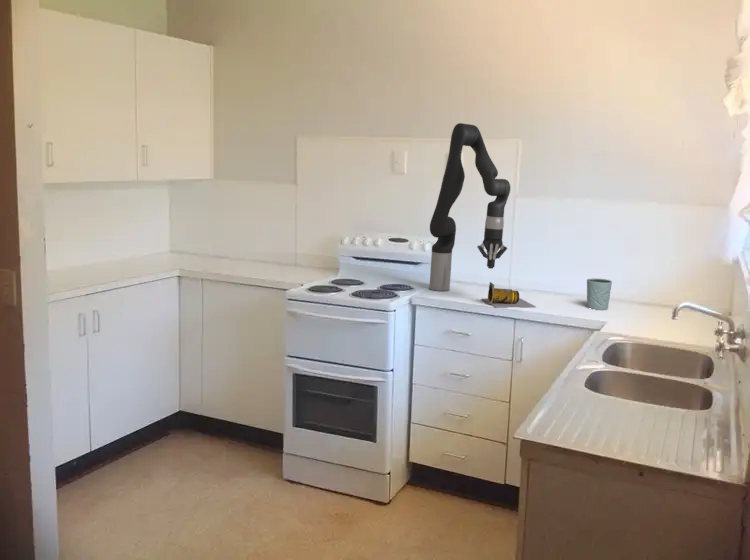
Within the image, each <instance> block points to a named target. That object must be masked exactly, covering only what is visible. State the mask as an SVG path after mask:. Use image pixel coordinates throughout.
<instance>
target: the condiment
mask: <svg viewBox="0 0 750 560" xmlns="http://www.w3.org/2000/svg"><path fill="white" fill-rule="evenodd" d="M519 298H520V292H519V290H515V289H511V288H498V287H495V284H494V283H492V282H491V281H489V284H488V292H487V299H488V300H487V301H488V302H489V303H491V304H492V302H496V303H517V302H518V301H519Z"/></svg>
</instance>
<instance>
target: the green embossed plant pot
mask: <svg viewBox="0 0 750 560" xmlns="http://www.w3.org/2000/svg"><path fill="white" fill-rule="evenodd" d="M612 283H613V281H612V280H610V279H605V278H595V277H594V278H593V277H592V278H588V279H586V308H587V307H588V308H587V309H589V308H591V309H590V310H593V309H595V311H607V310H608V309H609V304H610V297H611V290H612Z"/></svg>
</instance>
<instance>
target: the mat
mask: <svg viewBox="0 0 750 560" xmlns="http://www.w3.org/2000/svg"><path fill="white" fill-rule="evenodd" d="M481 300H482V301H483V302H486V303H487V304H488V305H490V306H492V307H493V308H496V309H497V308H498V309H499V308H501V309H504V308H505V309H506V308H507V307H520V308H537V306H536V305H533V304H532V303H530V302H528V301H526V300H524V299H522V298H520V297H519V301H518V302H517V303H496V302H492V304H491V303H489V302H488V301H487V300H488V298H481Z"/></svg>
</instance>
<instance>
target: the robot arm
mask: <svg viewBox="0 0 750 560" xmlns="http://www.w3.org/2000/svg"><path fill="white" fill-rule="evenodd" d="M451 132H452V133H451V136H450V137H451V138H450V144H449V151H448V155H447V161H446V165H445V169H444V174H443V177H442V182H441V185H440V190H439V194H438V198H437V201H436V205H435V209H434V210H433V214H432V216H431V219H430V222H429V232H430V234H431V236H432V237H434V238H437V240H436V241H435V243H433V245H431V246H432V247H431V256H430V274H429V275H430V276H429V290H431V291H439V292H446V291H447V292H448V291H450V288H451V275H452V274H451V272H452V258H453V257H452V255H453V249H454V247H455V241H456V234H457V233H456V231H457V226H456V225H457V224H456V220H454V218H453V217H451V216H449V215H450V211H451V209H452V207H453V205H454V204H455V202H456V201H457V199H458V198H459V196H460V194H461V193H462V191H463V190H462V189H463V187H464V183H465V182H464V181H465V178H466V176H465V170H464V169H465V168H464V166H463V163H462V152H463V147H464V146H465V147H470V148H472V150H473V152H474V153H475V159H474V164H475V168H476V170H477V171H478V174H479V175H480V177H481V179H482V183H483V184H482V185H483V189H484V191H485V193H486V194H487V195H489V196H491V197H495V199H494V200H492V201H490V202H488V204H487V208H486V219H485V221H484V224H485V225H484V234H483V241H482V243H481V244H480V245H477V249H478V251H479V252H480V254H481V256H482V257H483V258H485V259H487V261H486V267H487V268H488V269H492V270H493V269H494V268H495V265H496V264H495V263H496V260H497V259H501V257H502V255H503V254H504V253H505V252H506V251H507V250H508V247H507V246H505V245H504V242H503V236H504V235H503V234H504V227H505V226H504V224H505V221H504V219H505V218H504V217H505V207H506V204H507V201H508V199H509V196H510V194H511V184H510V182H509V180H507V179H505V178H497V177H498V175H499V171H498V169H497V167H496V165H495V163H494V162H493V160H492V158H491V157H490V155H489V153H488V151H487V146H486V145H485V142H484V139H483V137H482V134H481V131H480V128H479V127H478V126H476V125H474V124H470V123H469V124H468V123H462V122H458V123H457V124H455V125H454V127H453V130H452V131H451ZM485 250H486V251H485Z"/></svg>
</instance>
